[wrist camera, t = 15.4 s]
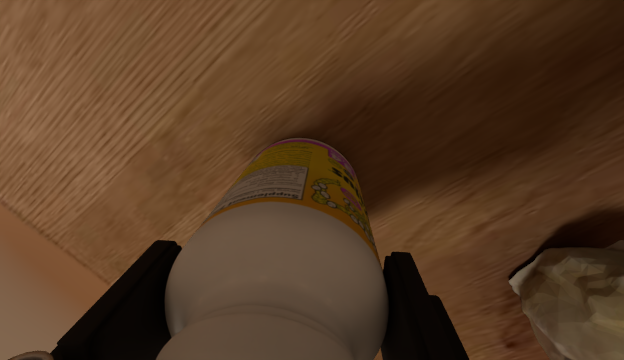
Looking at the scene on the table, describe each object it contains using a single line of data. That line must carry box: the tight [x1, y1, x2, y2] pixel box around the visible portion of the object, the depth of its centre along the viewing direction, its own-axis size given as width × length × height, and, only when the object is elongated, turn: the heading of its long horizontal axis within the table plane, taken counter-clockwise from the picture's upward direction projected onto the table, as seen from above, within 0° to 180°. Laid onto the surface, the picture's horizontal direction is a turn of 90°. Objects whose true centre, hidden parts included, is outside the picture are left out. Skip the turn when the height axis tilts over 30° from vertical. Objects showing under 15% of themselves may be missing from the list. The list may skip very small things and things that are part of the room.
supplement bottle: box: [156, 138, 389, 360], centre depth 12 cm, size 7×7×13 cm
